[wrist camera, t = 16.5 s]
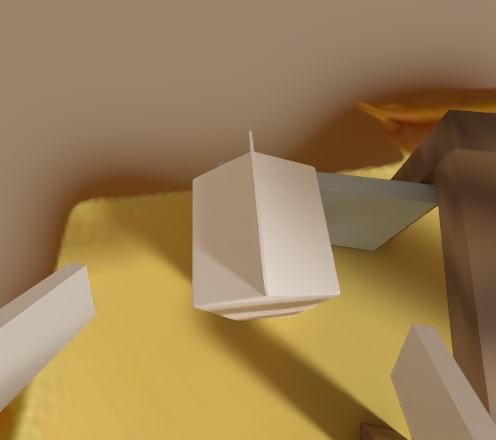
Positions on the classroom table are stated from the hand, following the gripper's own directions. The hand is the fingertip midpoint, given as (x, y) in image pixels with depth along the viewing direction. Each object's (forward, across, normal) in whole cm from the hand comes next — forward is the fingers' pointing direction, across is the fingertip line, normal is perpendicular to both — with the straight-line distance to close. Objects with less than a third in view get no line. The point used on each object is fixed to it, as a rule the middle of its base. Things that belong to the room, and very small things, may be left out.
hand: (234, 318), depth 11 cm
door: (+21, +4, -5) cm, 22 cm away
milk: (+16, 0, -10) cm, 19 cm away
